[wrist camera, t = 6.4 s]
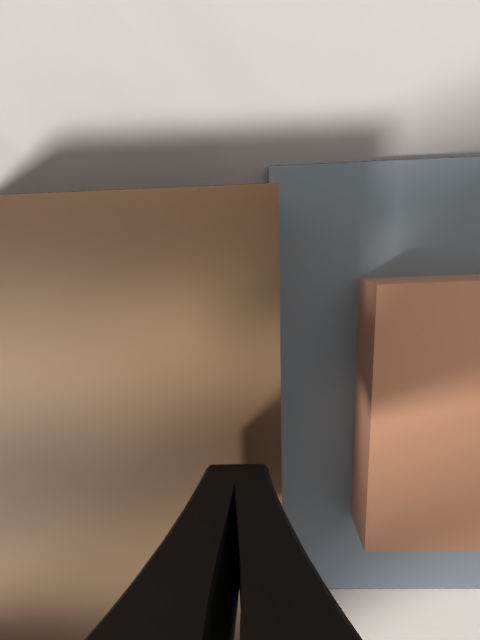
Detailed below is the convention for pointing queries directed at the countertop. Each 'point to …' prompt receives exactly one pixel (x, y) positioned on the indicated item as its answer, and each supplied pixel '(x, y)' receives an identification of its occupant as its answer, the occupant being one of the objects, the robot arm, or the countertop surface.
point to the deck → (126, 382)
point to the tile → (417, 414)
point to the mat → (341, 338)
